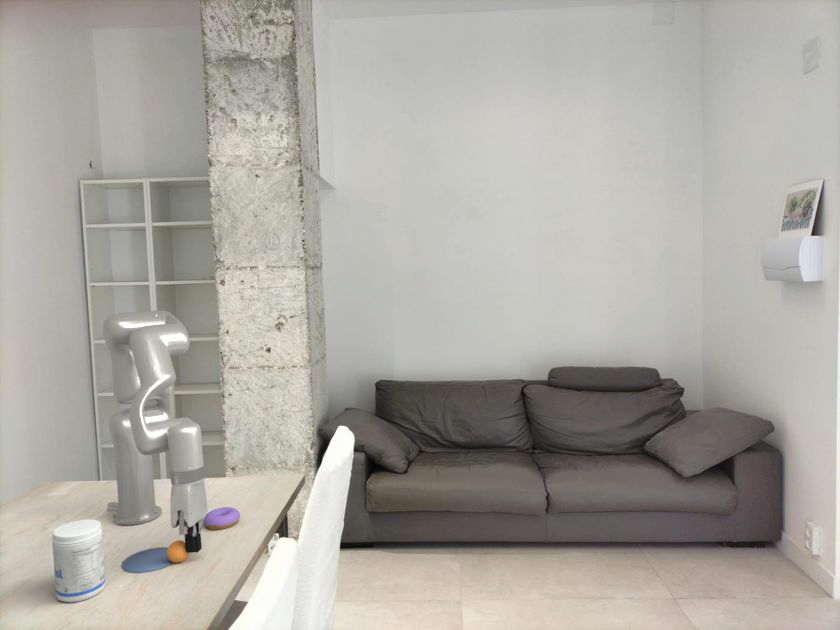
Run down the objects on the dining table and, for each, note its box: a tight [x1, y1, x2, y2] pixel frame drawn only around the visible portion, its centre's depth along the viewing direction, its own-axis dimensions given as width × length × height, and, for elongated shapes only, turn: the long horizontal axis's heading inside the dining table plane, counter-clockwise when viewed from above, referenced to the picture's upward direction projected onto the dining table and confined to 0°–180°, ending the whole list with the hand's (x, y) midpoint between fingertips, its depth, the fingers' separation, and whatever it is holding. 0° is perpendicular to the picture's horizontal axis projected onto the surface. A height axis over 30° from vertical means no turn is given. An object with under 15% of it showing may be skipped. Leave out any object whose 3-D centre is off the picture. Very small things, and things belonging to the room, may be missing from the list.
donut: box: [202, 506, 241, 531], centre depth 172 cm, size 10×9×5 cm
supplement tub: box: [51, 519, 106, 603], centre depth 136 cm, size 10×10×15 cm
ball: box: [167, 540, 190, 564], centre depth 149 cm, size 5×5×5 cm
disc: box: [121, 546, 175, 574], centre depth 151 cm, size 13×13×1 cm
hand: (193, 550), depth 149 cm, fingers closed
